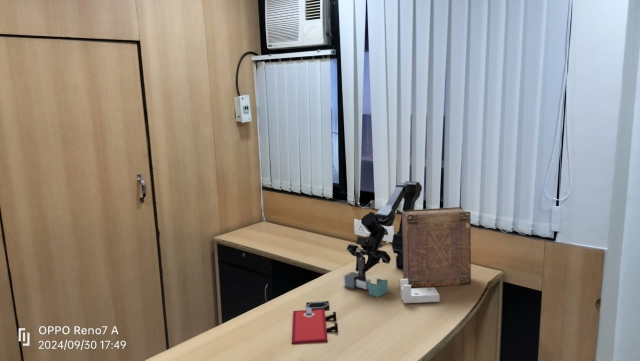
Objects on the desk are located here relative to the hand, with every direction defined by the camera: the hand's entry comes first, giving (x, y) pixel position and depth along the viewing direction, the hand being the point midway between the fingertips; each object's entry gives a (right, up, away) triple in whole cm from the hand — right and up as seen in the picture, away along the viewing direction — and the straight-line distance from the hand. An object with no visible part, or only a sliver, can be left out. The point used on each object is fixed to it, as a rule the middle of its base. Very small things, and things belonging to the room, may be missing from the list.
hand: (359, 271), depth 188 cm
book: (+32, -6, +6) cm, 33 cm away
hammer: (-1, -6, +4) cm, 7 cm away
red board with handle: (-18, -13, -24) cm, 33 cm away
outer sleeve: (-2, -7, +5) cm, 9 cm away
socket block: (+7, -8, -3) cm, 11 cm away
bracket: (+22, -9, -11) cm, 26 cm away
